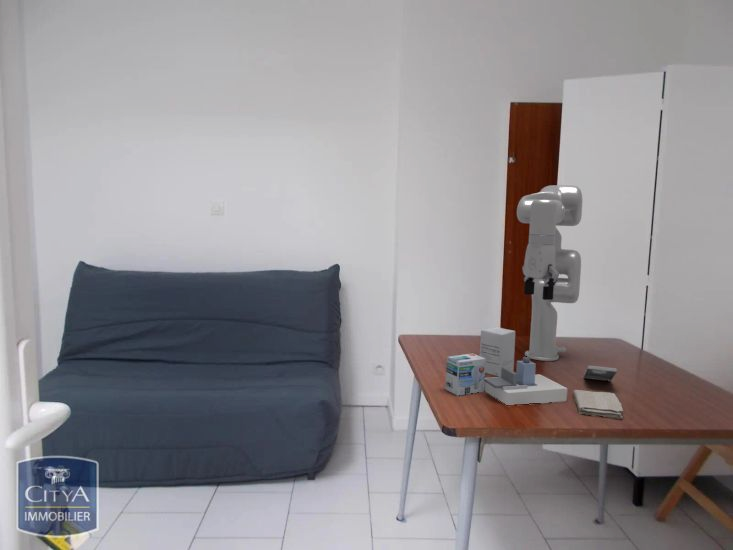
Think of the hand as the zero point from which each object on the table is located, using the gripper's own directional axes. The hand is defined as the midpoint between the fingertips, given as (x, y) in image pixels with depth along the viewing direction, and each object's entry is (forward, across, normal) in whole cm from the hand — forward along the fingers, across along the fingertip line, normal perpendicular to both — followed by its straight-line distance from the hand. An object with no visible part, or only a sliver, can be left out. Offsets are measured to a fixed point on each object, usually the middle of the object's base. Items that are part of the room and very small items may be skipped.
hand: (538, 296), depth 161 cm
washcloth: (+31, +14, +12) cm, 36 cm away
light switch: (+31, -2, +27) cm, 41 cm away
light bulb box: (+31, -6, -20) cm, 37 cm away
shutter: (+26, +2, -12) cm, 29 cm away
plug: (+30, +2, -4) cm, 30 cm away
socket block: (+30, +2, -4) cm, 31 cm away
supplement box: (+31, -22, 0) cm, 38 cm away
